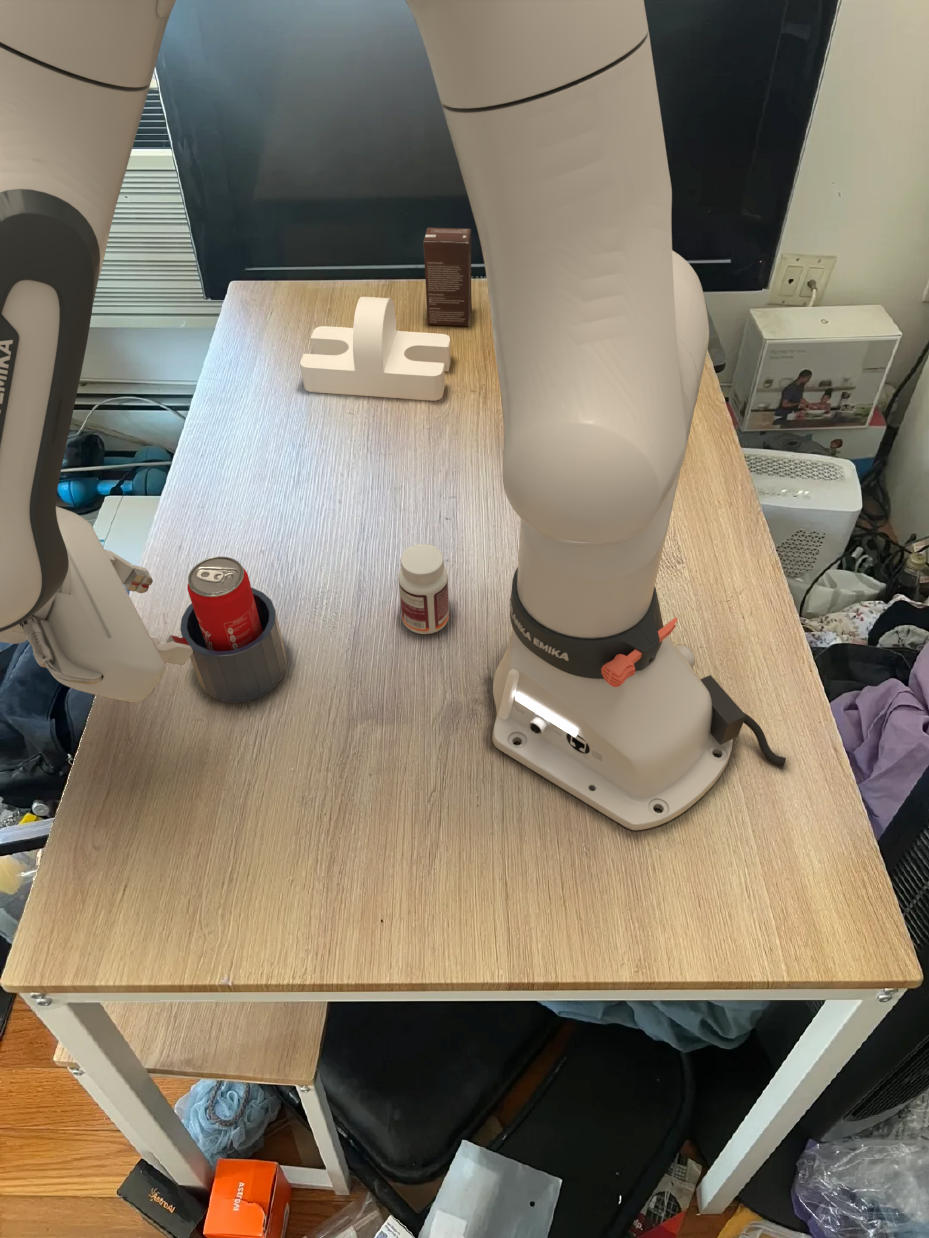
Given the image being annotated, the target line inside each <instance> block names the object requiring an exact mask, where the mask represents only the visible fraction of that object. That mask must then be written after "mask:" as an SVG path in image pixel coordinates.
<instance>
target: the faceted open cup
mask: <svg viewBox="0 0 929 1238" xmlns="http://www.w3.org/2000/svg"><path fill="white" fill-rule="evenodd" d="M251 589H252V592H253V596H254V600H255V604H256V608H257V611H258V615H259V619H260V623H261V627H262V631H263V633H262V634H261V635H260V636H259V637H258V638H257V639H256V640H254V641H253V642H251V643H249V644H248V645H246V646H244V647H241V648H238V649H235V650H229V651H214V650H208V649H207V646H206V643H205V640H204V637H203V634H202V631H201V628H200V625H199V622H198V620H197V617H196V614H195V611H194V608H193V605H192V602H191V603H190V604H189V605H188V606H187V607H186V609H185V611H184V613H183V615H182V617H181V619H180V628H179V629H180V633H181V637H183V638H185V639H186V640H187V642H188V643H189V645H190V647H191V648H192V650H193V654H192V655H191V656H190V658H189V659H190V661H191V665H192V667H193V670H194V673H195V675H196V678H197V681H198V683H199V685H200V687H201V689H202V690H203V692H205V693H206V695H208V696H209V697H211V698H213V699H215V700H217V701H220V702H223V703H227V704H243V703H249V702H251V701H252V702H253V701H255V700H258V699H260V698H262V697H264V696H266V695H268V694H270V692H272V691H273V690H274V689H275V688H276V687H277V686H278V685H279V684H280V683H281V681H282V679H283V678H284V676H285V673H286V671H287V665H288V660H287V651H286V648H285V644H284V640H283V636H282V631H281V628H280V623H279V618H278V615H277V611H276V608H275V606H274V602H273V600H272V599H270V597H268V596H267V594H265V592H263V591H261V590H258V589H256V588H254V587H251Z"/></svg>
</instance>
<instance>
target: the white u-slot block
mask: <svg viewBox="0 0 929 1238" xmlns="http://www.w3.org/2000/svg"><path fill="white" fill-rule="evenodd" d="M450 337H451V336H450V335H448V334H446V333H434V332H420V331H419V332H418V331H407V330H406V331H404V330H398V329H397V317H396V307H395V303H394V300H393V299H392V298H391V297H378V296H377V297H376V296H375V297H374V296H360V297H359V299H358V300H357V303H356V307H355V312H354V317H353V327H345V326H343V327H341V326H330V325H329V326H327V325H322V326H321V325H320V326H318V327H315V328H314V329H313V331H312V333H311V336H310V343H311V350H312V351H311V353H303V354H302V357H301V359H300V362H299V364H300V369H301V371H300V372H301V377H302V383H303V389H304V390H305V391H307V392H309V393H319V394H320V393H321V394H334V395H348V396H349V395H350V396H361V397H362V396H363V397H375V398H376V397H377V398H390V399H405V400H417V401H418V400H419V401H431V402H432V401H434V402H435V401H439V400H441V399H442V398H443V396H444V394H445V389H446V378H445V377H446V376H445V372H449V371H450V367H451V338H450Z"/></svg>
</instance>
